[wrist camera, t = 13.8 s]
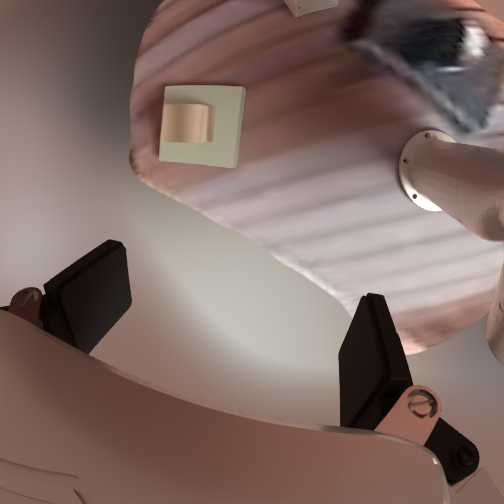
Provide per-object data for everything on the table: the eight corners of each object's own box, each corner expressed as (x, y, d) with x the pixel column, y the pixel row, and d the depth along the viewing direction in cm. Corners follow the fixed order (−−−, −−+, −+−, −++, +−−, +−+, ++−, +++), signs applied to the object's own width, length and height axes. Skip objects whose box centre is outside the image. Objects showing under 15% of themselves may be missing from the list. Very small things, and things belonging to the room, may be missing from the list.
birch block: (215, 107, 34) (200, 104, 29) (212, 141, 36) (196, 143, 31) (183, 107, 35) (164, 104, 30) (180, 139, 37) (161, 141, 32)
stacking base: (246, 89, 35) (242, 86, 32) (237, 166, 40) (232, 168, 38) (172, 88, 36) (165, 86, 34) (166, 158, 41) (158, 160, 39)
